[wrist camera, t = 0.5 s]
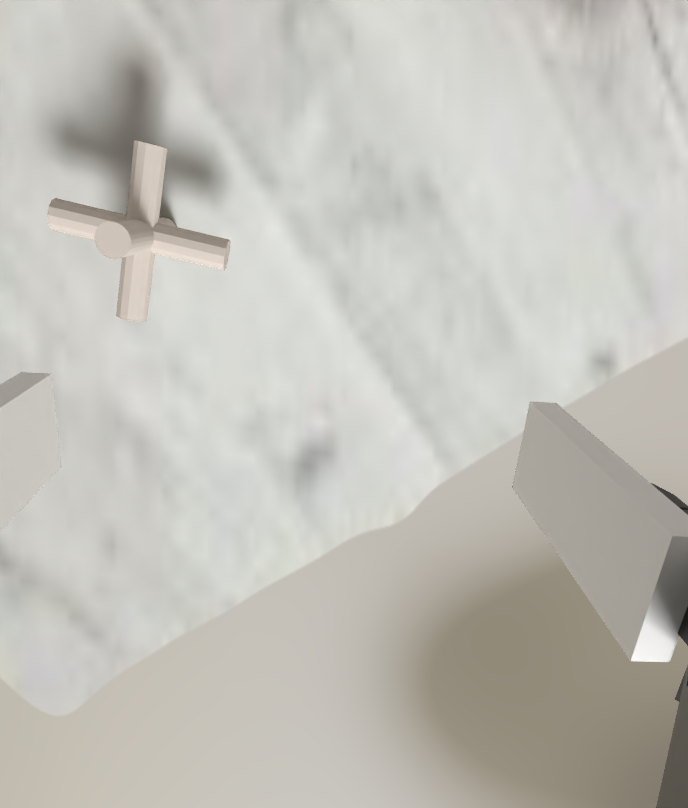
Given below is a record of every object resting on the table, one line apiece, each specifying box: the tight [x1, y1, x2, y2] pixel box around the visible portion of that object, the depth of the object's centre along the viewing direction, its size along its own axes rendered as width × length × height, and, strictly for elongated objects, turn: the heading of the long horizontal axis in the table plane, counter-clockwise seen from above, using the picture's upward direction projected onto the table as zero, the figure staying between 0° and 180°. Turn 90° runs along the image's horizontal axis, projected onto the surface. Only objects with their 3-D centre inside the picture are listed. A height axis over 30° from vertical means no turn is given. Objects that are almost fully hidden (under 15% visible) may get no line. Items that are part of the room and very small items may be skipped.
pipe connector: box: [48, 140, 230, 322], centre depth 32 cm, size 10×10×10 cm
